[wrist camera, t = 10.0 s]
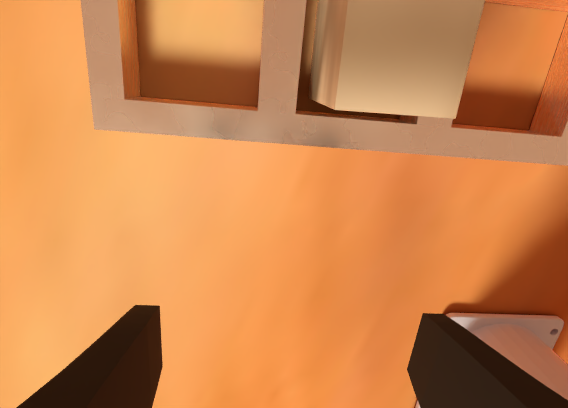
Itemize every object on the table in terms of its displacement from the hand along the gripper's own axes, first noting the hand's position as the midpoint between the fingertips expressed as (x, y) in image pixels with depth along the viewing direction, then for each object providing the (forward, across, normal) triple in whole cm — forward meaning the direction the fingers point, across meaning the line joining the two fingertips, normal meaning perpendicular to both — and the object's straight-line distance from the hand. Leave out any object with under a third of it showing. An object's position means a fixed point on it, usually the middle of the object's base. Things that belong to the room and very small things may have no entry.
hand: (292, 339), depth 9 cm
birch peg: (+10, -3, -8) cm, 13 cm away
